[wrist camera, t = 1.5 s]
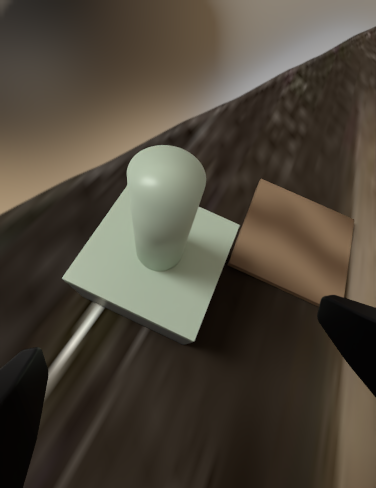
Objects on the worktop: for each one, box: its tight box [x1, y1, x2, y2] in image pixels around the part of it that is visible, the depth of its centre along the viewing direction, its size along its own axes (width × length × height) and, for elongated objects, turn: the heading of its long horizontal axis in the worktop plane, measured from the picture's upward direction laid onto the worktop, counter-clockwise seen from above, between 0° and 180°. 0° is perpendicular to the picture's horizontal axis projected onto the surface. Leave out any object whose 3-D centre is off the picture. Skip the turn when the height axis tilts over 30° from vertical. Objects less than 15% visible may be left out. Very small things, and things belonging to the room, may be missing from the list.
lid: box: [62, 145, 239, 342], centre depth 14 cm, size 9×9×9 cm
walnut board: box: [227, 179, 354, 307], centre depth 25 cm, size 11×11×1 cm
